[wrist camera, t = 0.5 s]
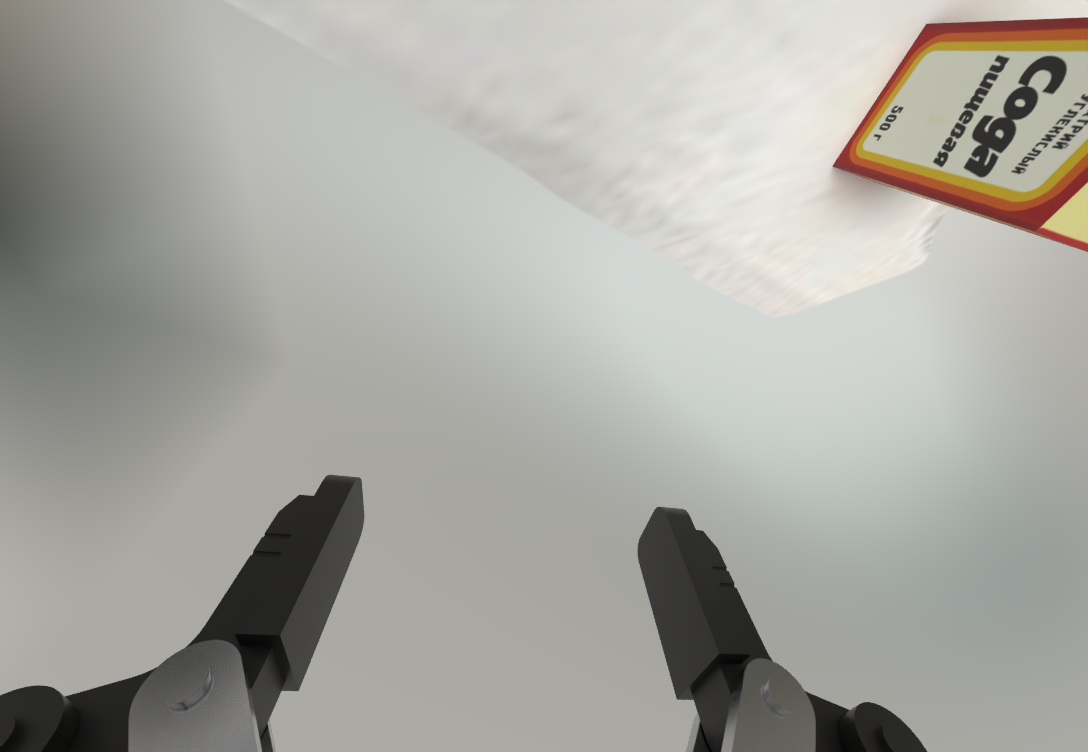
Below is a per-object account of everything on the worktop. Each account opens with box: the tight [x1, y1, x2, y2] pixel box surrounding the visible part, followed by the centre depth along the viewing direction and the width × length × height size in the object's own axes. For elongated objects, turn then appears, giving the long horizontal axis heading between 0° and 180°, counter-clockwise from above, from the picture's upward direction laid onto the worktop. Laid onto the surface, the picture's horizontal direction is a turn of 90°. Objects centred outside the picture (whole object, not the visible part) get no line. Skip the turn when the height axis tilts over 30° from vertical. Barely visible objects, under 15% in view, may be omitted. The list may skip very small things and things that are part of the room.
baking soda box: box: [833, 18, 1088, 252], centre depth 26 cm, size 10×6×16 cm
